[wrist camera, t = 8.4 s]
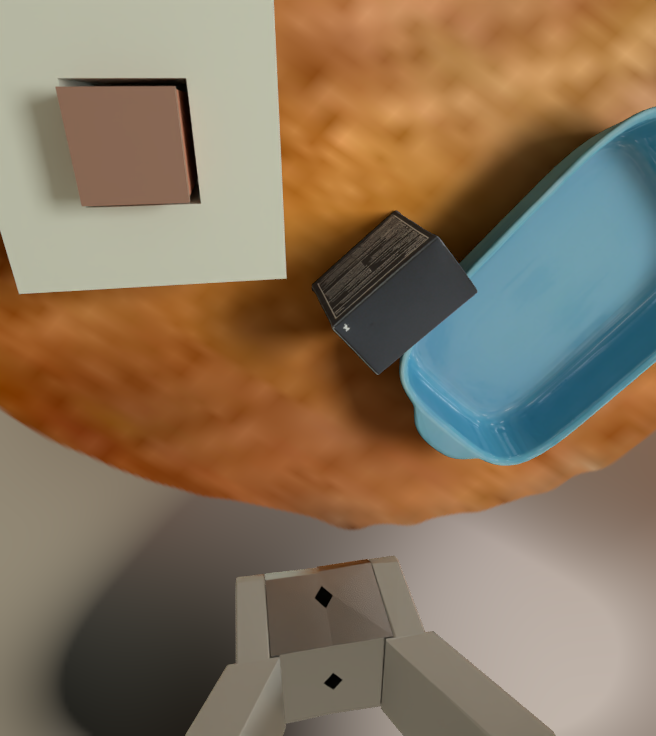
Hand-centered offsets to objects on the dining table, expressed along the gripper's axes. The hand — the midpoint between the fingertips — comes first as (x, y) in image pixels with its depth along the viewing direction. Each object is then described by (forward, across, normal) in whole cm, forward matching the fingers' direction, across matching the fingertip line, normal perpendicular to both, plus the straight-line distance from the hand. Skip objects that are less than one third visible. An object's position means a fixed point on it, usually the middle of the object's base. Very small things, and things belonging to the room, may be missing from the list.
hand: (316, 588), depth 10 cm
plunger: (+38, +7, -6) cm, 39 cm away
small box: (+39, -11, +6) cm, 41 cm away
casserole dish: (+40, -29, +9) cm, 50 cm away
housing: (+39, +7, -6) cm, 40 cm away
